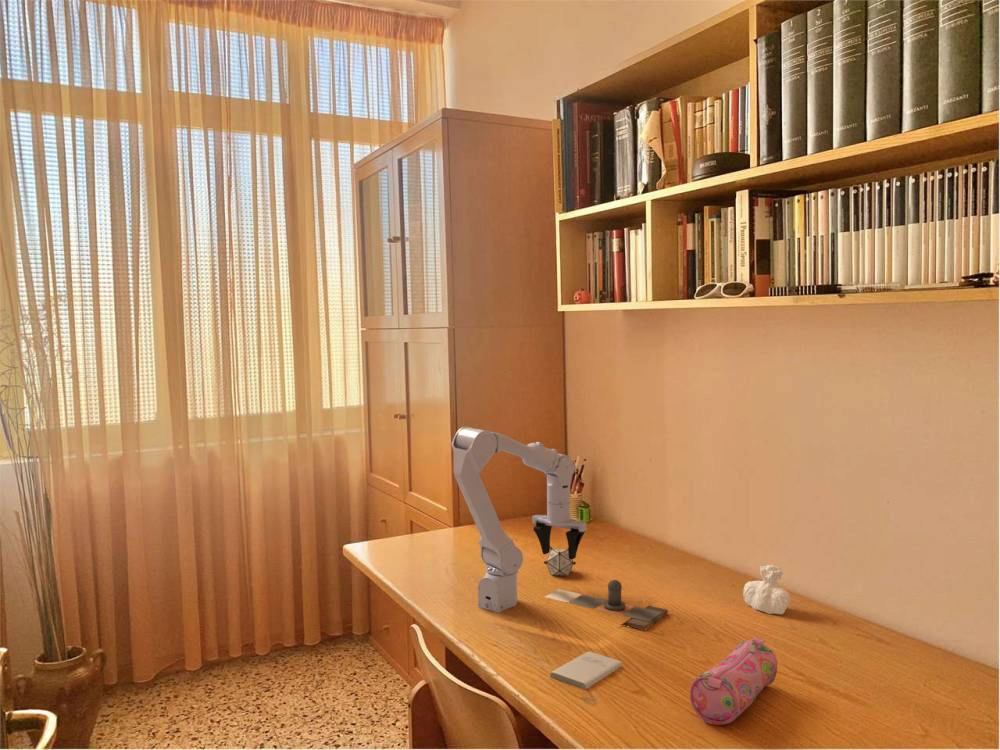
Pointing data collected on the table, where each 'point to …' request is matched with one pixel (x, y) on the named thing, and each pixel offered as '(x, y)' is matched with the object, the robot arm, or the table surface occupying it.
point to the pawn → (614, 597)
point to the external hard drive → (586, 670)
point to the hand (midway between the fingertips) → (559, 555)
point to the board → (638, 615)
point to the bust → (767, 592)
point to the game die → (559, 562)
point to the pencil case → (733, 682)
